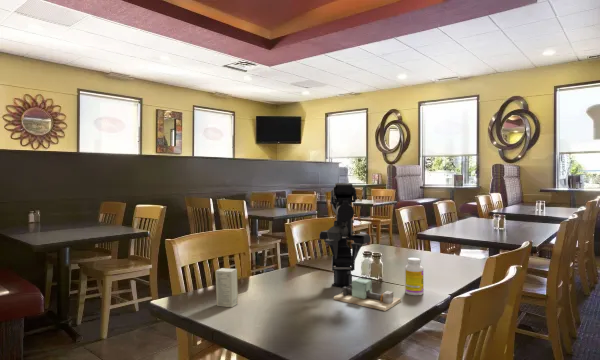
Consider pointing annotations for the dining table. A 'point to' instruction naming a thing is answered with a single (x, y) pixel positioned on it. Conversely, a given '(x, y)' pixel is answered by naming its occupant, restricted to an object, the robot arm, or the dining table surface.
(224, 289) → the skincare box
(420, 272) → the supplement bottle
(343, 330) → the dining table surface
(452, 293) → the dining table surface
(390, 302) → the cable board
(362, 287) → the mint green cube
